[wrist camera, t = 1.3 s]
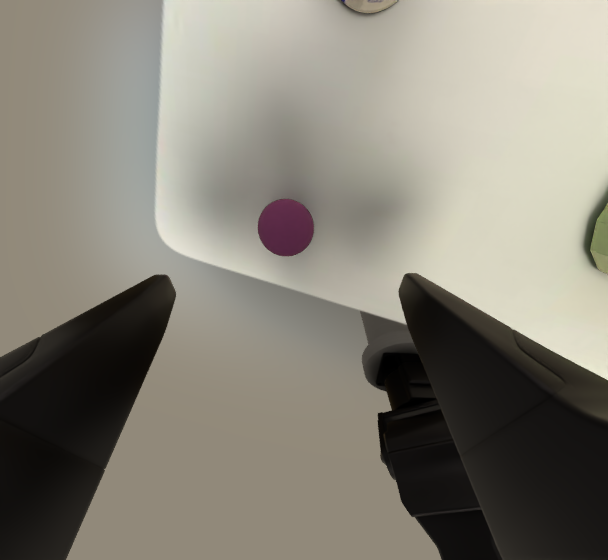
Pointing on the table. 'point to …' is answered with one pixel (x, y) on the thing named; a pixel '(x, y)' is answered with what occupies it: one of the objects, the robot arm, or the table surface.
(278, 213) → the ball
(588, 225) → the table surface
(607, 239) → the green bowl
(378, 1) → the beverage can
